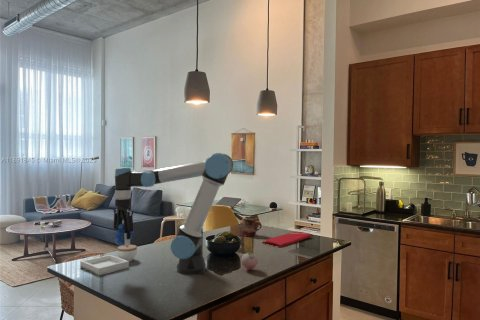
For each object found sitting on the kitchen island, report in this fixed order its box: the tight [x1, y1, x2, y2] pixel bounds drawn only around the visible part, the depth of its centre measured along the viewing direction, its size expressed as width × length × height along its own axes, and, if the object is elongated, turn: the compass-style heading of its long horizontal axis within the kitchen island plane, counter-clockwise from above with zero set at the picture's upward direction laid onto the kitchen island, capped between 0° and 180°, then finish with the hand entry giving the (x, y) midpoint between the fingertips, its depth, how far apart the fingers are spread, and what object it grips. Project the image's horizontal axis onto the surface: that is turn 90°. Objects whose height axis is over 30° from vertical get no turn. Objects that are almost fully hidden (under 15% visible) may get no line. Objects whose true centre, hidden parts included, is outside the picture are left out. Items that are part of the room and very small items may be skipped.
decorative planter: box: [239, 216, 262, 237], centre depth 272 cm, size 20×12×14 cm, turn 55°
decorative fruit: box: [240, 251, 259, 271], centre depth 189 cm, size 9×8×10 cm
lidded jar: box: [116, 244, 138, 262], centre depth 204 cm, size 11×11×9 cm
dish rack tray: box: [79, 254, 130, 276], centre depth 191 cm, size 19×17×4 cm
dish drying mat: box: [261, 231, 312, 248], centre depth 258 cm, size 16×41×4 cm, turn 137°
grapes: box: [113, 223, 135, 247], centre depth 179 cm, size 12×7×12 cm, turn 146°
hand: (123, 244), depth 179 cm, fingers closed on grapes, 7 cm apart
